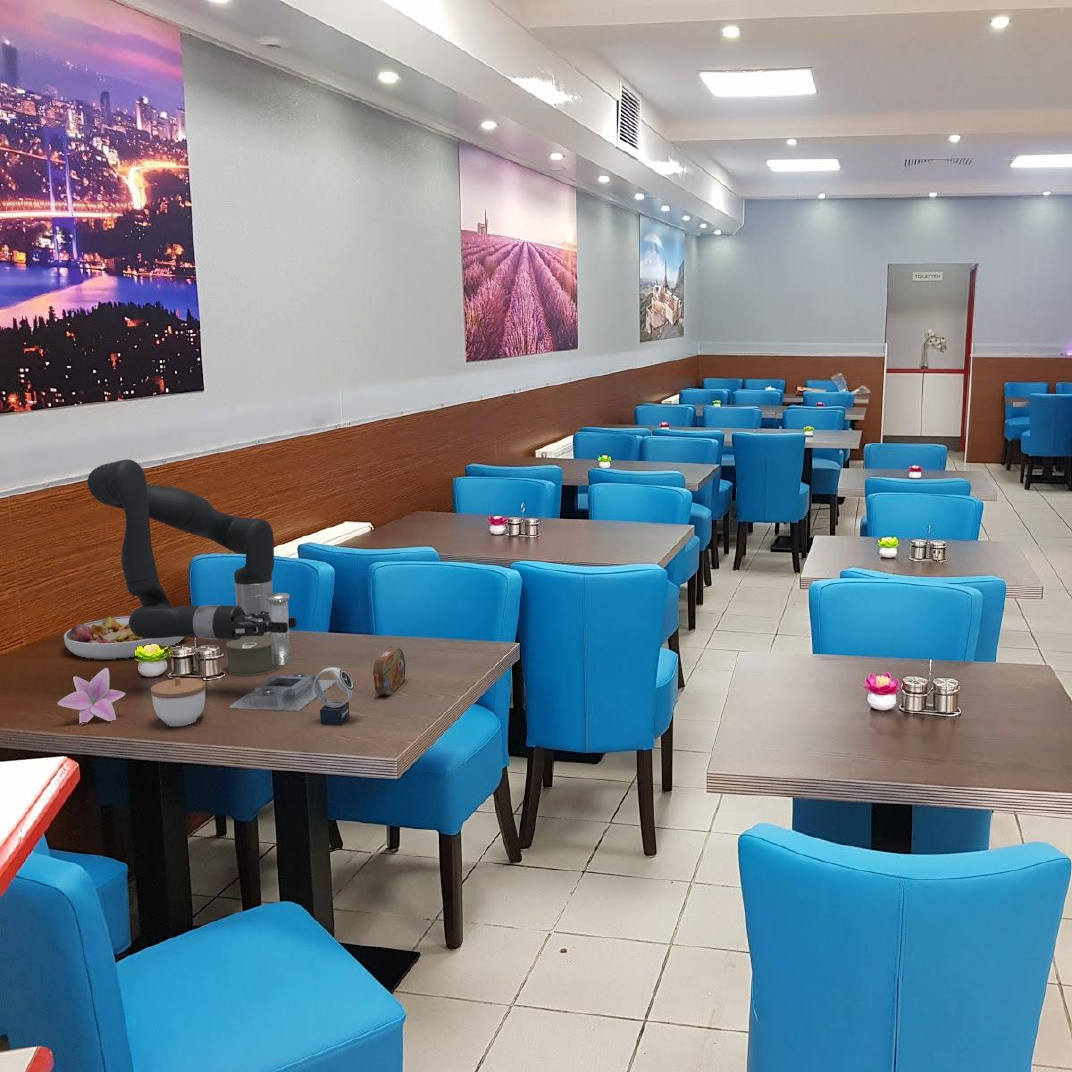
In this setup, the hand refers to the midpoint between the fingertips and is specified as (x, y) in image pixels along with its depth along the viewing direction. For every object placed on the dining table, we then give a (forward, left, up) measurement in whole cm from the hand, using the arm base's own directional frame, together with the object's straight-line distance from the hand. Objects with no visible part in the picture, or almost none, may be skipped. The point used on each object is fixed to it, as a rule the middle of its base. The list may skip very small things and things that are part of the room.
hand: (291, 625), depth 255 cm
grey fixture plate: (0, -3, -16) cm, 16 cm away
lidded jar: (+20, -17, -16) cm, 31 cm away
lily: (+21, -36, -16) cm, 45 cm away
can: (-18, -19, -16) cm, 31 cm away
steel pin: (0, -3, -8) cm, 9 cm away
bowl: (-34, -62, -16) cm, 72 cm away
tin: (-7, +19, -16) cm, 26 cm away
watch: (+15, +15, -16) cm, 27 cm away
